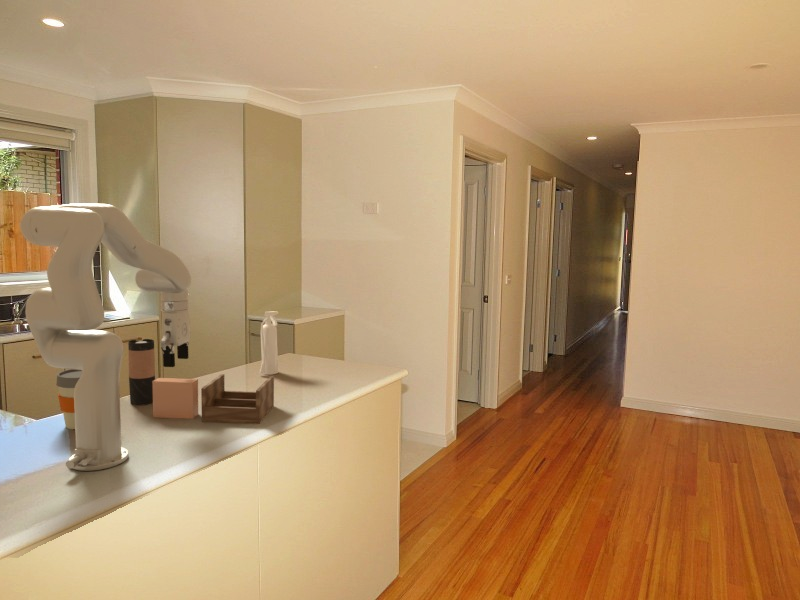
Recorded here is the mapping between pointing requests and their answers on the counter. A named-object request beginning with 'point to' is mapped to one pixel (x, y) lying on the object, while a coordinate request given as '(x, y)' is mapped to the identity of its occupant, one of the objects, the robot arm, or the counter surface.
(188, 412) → the peach rectangular block
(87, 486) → the counter surface
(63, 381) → the reusable coffee cup
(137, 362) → the travel mug
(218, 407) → the wooden crate
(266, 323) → the white spray bottle
